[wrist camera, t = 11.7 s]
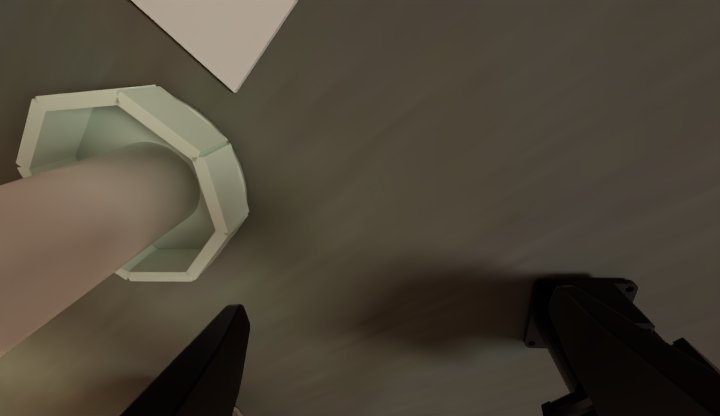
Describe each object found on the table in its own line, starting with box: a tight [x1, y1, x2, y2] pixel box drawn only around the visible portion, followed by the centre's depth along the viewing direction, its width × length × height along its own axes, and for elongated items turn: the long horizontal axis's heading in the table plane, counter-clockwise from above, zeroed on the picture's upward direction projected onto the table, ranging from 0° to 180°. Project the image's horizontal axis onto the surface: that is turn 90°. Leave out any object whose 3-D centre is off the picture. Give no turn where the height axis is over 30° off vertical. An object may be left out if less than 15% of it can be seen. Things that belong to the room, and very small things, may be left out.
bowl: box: [16, 85, 249, 281], centre depth 20 cm, size 13×13×4 cm
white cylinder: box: [0, 142, 200, 357], centre depth 16 cm, size 6×6×12 cm
